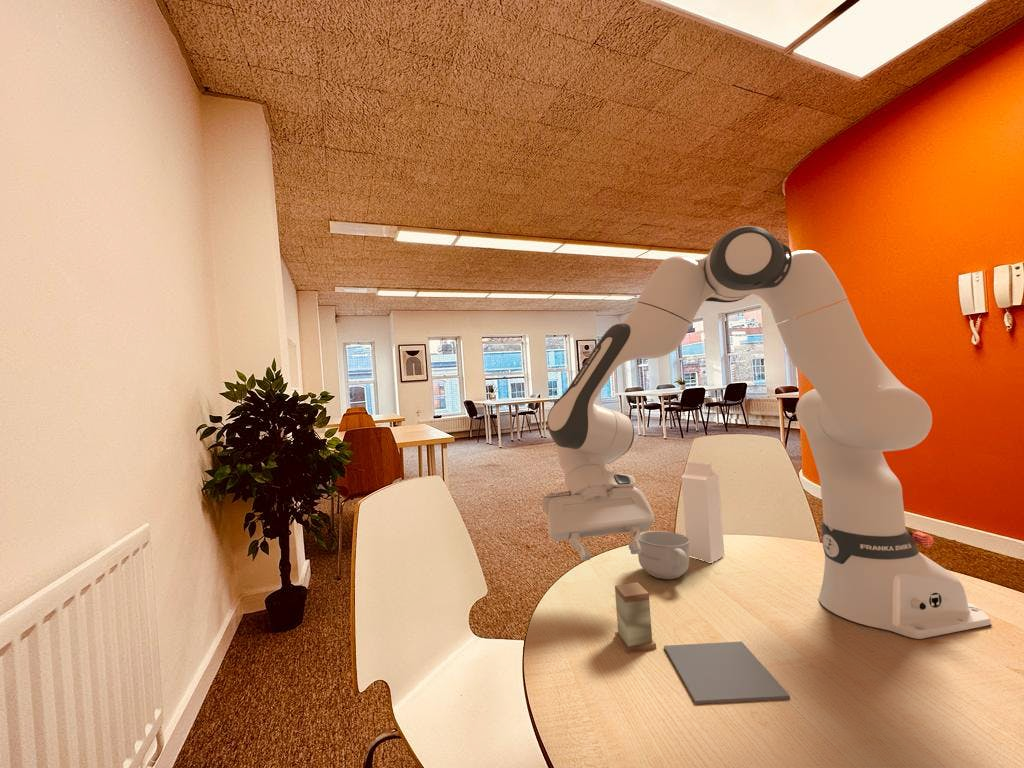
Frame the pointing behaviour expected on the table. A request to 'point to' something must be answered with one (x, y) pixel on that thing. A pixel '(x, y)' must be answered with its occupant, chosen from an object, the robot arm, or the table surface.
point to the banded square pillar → (633, 618)
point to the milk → (702, 512)
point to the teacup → (664, 554)
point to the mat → (723, 673)
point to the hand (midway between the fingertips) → (611, 556)
